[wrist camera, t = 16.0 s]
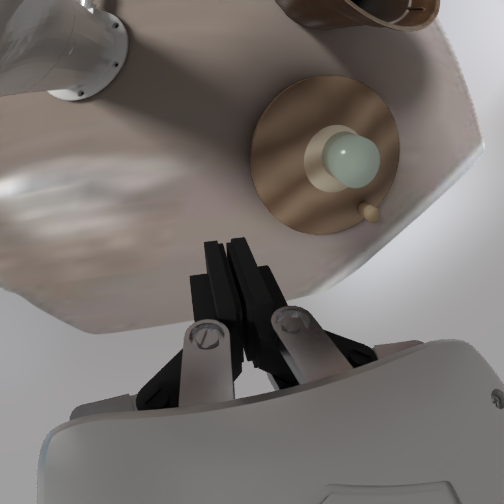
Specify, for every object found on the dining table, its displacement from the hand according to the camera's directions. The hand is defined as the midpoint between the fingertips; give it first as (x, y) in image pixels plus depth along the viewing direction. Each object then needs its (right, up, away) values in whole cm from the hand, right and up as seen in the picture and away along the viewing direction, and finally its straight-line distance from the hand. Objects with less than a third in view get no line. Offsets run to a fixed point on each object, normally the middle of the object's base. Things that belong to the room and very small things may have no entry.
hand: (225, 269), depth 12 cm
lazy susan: (+12, +14, +26) cm, 32 cm away
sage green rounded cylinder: (+14, +14, +24) cm, 31 cm away
